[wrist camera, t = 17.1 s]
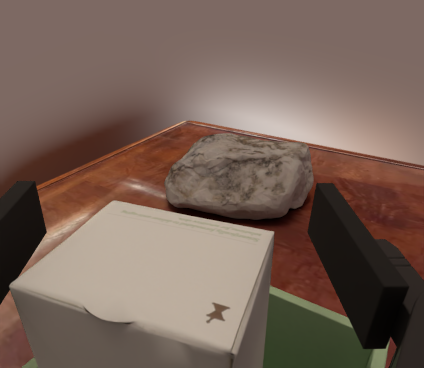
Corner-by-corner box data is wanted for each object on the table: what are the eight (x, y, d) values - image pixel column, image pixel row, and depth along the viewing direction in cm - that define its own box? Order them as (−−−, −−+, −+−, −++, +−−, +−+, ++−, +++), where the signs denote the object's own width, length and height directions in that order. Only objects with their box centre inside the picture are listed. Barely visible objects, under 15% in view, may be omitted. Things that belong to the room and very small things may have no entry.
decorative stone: (315, 178, 52) (314, 117, 47) (307, 245, 43) (305, 178, 37) (193, 175, 59) (179, 121, 53) (163, 232, 49) (141, 174, 43)
